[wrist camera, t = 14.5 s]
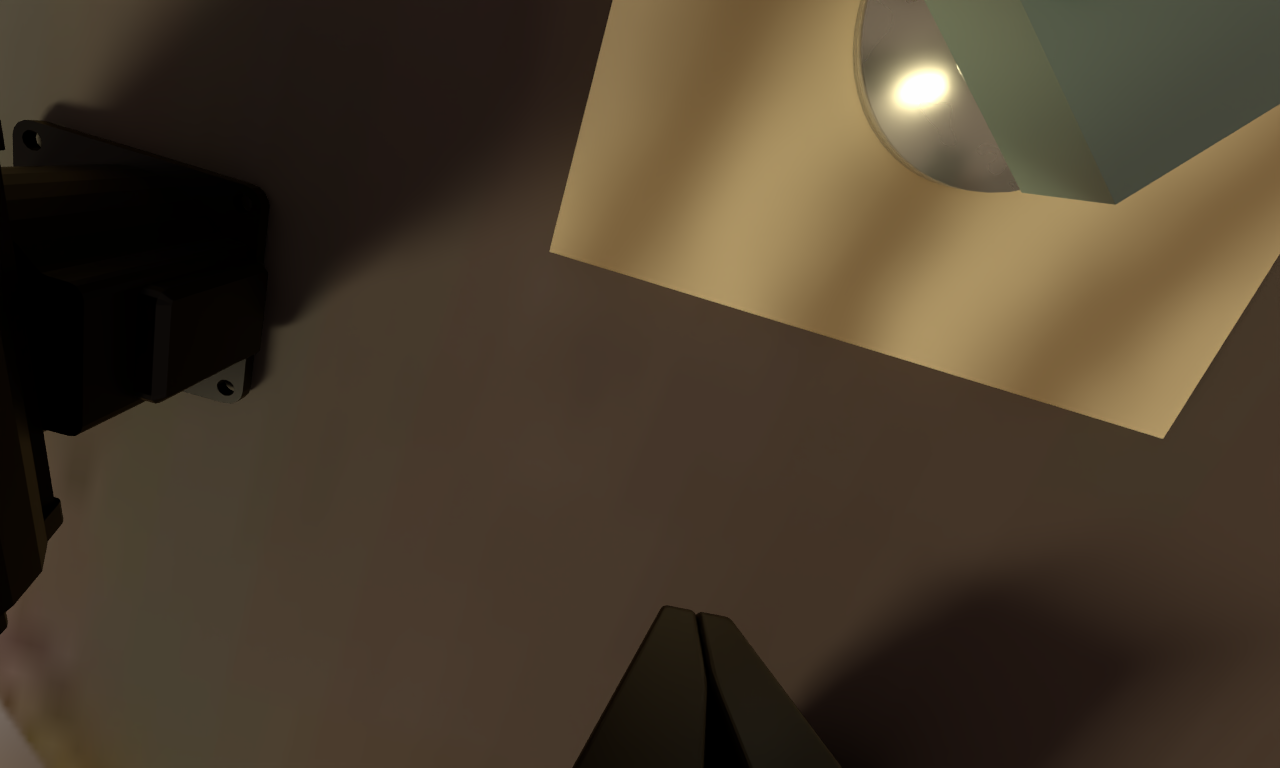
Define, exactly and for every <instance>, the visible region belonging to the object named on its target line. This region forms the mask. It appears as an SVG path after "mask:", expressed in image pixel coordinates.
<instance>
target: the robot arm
mask: <svg viewBox="0 0 1280 768" xmlns="http://www.w3.org/2000/svg"><path fill="white" fill-rule="evenodd" d="M37 133H38V135H39V136H40V137H41V140H42V147H40V146H39V145H38V143H37V141H36V134H37ZM0 150H5V145H4V139H3V132H2V126H1V120H0ZM243 195H246V196H248V197H249V199H250V200H251V203H252V208H251V210H250V211H248V210H246V209H245V208H244V206H243V205H242V197H243ZM268 215H269V200H268V198H267V196H266V194H265V193H264V191H263V190H262V189H261V188H260V187H258V186H256V185H254V184H251V183H248V182H245V181H241V180H238V179H235V178H231V177H228V176H225V175H221V174H218V173H215V172H212V171H208V170H205V169H202V168H198V167H195V166H192V165H188V164H185V163H182V162H178V161H175V160H172V159H169V158H165V157H162V156H159V155H155V154H152V153H149V152H145V151H142V150H139V149H136V148H132V147H129V146H126V145H122V144H119V143H116V142H112V141H109V140H106V139H102V138H99V137H96V136H93V135H89V134H86V133H83V132H79V131H76V130H73V129H69V128H66V127H63V126H60V125H56V124H53V123H50V122H46V121H38V120H23V121H20V122H18V123H17V124H16V126H15V127H14V130H13V167H1V166H0V634H1V633H2V632H3V631H4V630H5V629H6V628H7V624H8V620H7V615H6V611H7V610H9V609H10V608H11V607H12V606H13V605H14V604H15V603H16V602H17V601H18V599H19V598H20V597H21V596H22V595H23V593H24V592H25V591H26V590H27V589H28V587H29V586H30V585H31V584H32V583H33V581H34V580H35V579H36V578H37V577H38V575H39V574H40V573H41V572H42V569H43V564H44V559H45V554H46V548H47V542H48V540H49V539H50V538H51V537H52V535H53V534H54V533H55V532H56V530H57V529H58V528H59V527H60V526H61V524H62V523H63V515H62V508H61V502H60V500H59V498H56V497H54V496H53V490H52V484H51V477H50V471H49V465H48V459H47V452H46V446H45V440H44V434H43V432H44V431H46V430H49V431H53V432H56V433H60V434H64V435H67V436H76V435H78V434H80V433H82V432H84V431H86V430H88V429H90V428H92V427H94V426H96V425H98V424H100V423H102V422H104V421H106V420H108V419H110V418H112V417H114V416H116V415H118V414H120V413H122V412H125V411H127V410H129V409H131V408H133V407H135V406H137V405H139V404H141V403H143V402H145V401H149V402H152V403H160V402H162V401H164V400H166V399H168V398H170V397H172V396H174V395H176V394H178V393H180V392H182V391H183V392H187V393H191V394H194V395H198V396H201V397H205V398H209V399H212V400H216V401H219V402H223V403H234V402H237V401H239V400H240V399H242V398H244V397H245V396H246V395H247V394H248V393H249V391H250V387H251V377H252V368H253V358H254V354H255V353H257V352H258V351H259V350H260V344H261V335H262V326H263V316H264V307H265V298H266V289H267V279H268V272H267V270H266V268H265V266H264V264H263V263H264V253H265V244H266V234H267V225H268ZM225 380H228V381H229V382H231V383H232V385H233V386H234V391H232V390H230V389H229V388H228V387H227V386H226V383H225ZM572 768H842V767H841V765H840V764H839V763H838V761H837V760H836V759H835V757H834V756H833V755H832V753H831V752H830V751H829V749H828V748H827V747H826V745H825V744H824V743H823V741H822V740H821V739H820V737H819V736H818V735H817V733H816V732H815V731H814V729H813V728H812V727H811V725H810V724H809V723H808V721H807V720H806V719H805V717H804V716H803V715H802V713H801V712H800V711H799V709H798V708H797V707H796V705H795V704H794V703H793V701H792V700H791V699H790V697H789V696H788V695H787V693H786V692H785V691H784V689H783V688H782V687H781V685H780V684H779V683H778V681H777V680H776V679H775V677H774V676H773V675H772V673H771V672H770V671H769V669H768V668H767V667H766V665H765V664H764V663H763V661H762V660H761V659H760V657H759V656H758V655H757V653H756V652H755V651H754V649H753V648H752V647H751V645H750V644H749V643H748V641H747V640H746V639H745V637H744V636H743V635H742V633H741V632H740V631H739V629H738V628H737V627H736V625H735V624H734V623H733V621H732V620H731V619H729V618H728V617H725V616H719V615H714V614H709V613H704V612H700V613H698V614H697V615H695V613H694V612H693V611H691V610H688V609H683V608H678V607H673V606H663V607H662V608H661V609H660V611H659V613H658V614H657V616H656V618H655V620H654V622H653V623H652V625H651V627H650V629H649V631H648V632H647V634H646V636H645V638H644V640H643V641H642V643H641V645H640V647H639V649H638V650H637V652H636V654H635V656H634V658H633V659H632V661H631V663H630V665H629V667H628V668H627V670H626V672H625V674H624V676H623V677H622V679H621V681H620V683H619V685H618V686H617V688H616V690H615V692H614V694H613V695H612V697H611V699H610V701H609V703H608V704H607V706H606V708H605V710H604V712H603V713H602V715H601V717H600V719H599V721H598V722H597V724H596V726H595V728H594V730H593V731H592V733H591V735H590V737H589V739H588V740H587V742H586V744H585V746H584V748H583V749H582V751H581V753H580V755H579V757H578V758H577V760H576V762H575V764H574V766H573V767H572Z"/></svg>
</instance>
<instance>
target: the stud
mask: <svg viewBox="0 0 1280 768" xmlns="http://www.w3.org/2000/svg"><path fill="white" fill-rule="evenodd" d="M853 71H854V78H855V84H856V89H857V94H858V97H859V100H860V103H861V107H862V110H863V112H864V115H865V117H866V119H867V121H868V123H869V125H870V127H871V129H872V131H873V132H874V134H875V135H876V137H877V138H878V140H879V141H880V143H881V144H882V145H883V146H884V147H885V149H886V150H887V151H888V152H889V153H890V154H891V155H892V156H893V157H894V158H895V159H896V160H897V161H898V162H900V163H901V164H902V165H903V166H904V167H906V168H907V169H908V170H910V171H912V172H913V173H915V174H917V175H919V176H920V177H922V178H924V179H926V180H929V181H931V182H934V183H936V184H939V185H943V186H947V187H951V188H955V189H961V190H968V191H976V192H986V193H997V192H1012V191H1018V190H1020V188H1019V186H1018V185H1017V183H1016V181H1015V179H1014V177H1013V175H1012V173H1011V171H1010V169H1009V167H1008V165H1007V163H1006V161H1005V159H1004V157H1003V155H1002V153H1001V151H1000V149H999V147H998V145H997V143H996V141H995V139H994V137H993V135H992V133H991V131H990V129H989V127H988V125H987V123H986V121H985V119H984V117H983V115H982V113H981V111H980V109H979V107H978V105H977V103H976V101H975V100H974V98H973V96H972V94H971V92H970V90H969V88H968V86H967V84H966V82H965V80H964V78H963V76H962V74H961V72H960V70H959V68H958V66H957V64H956V62H955V60H954V58H953V56H952V54H951V52H950V50H949V48H948V46H947V44H946V42H945V40H944V38H943V36H942V34H941V32H940V30H939V28H938V26H937V24H936V22H935V20H934V18H933V16H932V14H931V13H930V11H929V9H928V7H927V5H926V3H925V1H924V0H861V1H860V4H859V7H858V11H857V17H856V22H855V28H854V38H853Z"/></svg>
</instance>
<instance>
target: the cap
mask: <svg viewBox="0 0 1280 768" xmlns="http://www.w3.org/2000/svg"><path fill="white" fill-rule="evenodd" d="M924 1H925V3H926V5H927V7H928V9H929V11H930V13H931V14H932V16H933V18H934V20H935V22H936V24H937V26H938V28H939V30H940V32H941V34H942V36H943V38H944V40H945V42H946V44H947V46H948V48H949V50H950V52H951V54H952V56H953V58H954V60H955V62H956V64H957V66H958V68H959V70H960V72H961V74H962V76H963V78H964V80H965V82H966V84H967V86H968V88H969V90H970V92H971V94H972V96H973V98H974V100H975V101H976V103H977V105H978V107H979V109H980V111H981V113H982V115H983V117H984V119H985V121H986V123H987V125H988V127H989V129H990V131H991V133H992V135H993V137H994V139H995V141H996V143H997V145H998V147H999V149H1000V151H1001V153H1002V155H1003V157H1004V159H1005V161H1006V163H1007V165H1008V167H1009V169H1010V171H1011V173H1012V175H1013V177H1014V179H1015V181H1016V183H1017V185H1018V186H1019V188H1020V190H1021V192H1022V193H1028V194H1035V195H1043V196H1051V197H1059V198H1066V199H1074V200H1082V201H1090V202H1098V203H1105V204H1113V205H1116V204H1118V203H1119V202H1121V201H1123V200H1124V199H1126V198H1128V197H1129V196H1131V195H1132V194H1134V193H1136V192H1137V191H1139V190H1141V189H1142V188H1144V187H1146V186H1147V185H1149V184H1150V183H1152V182H1154V181H1155V180H1157V179H1159V178H1160V177H1162V176H1163V175H1165V174H1167V173H1168V172H1170V171H1172V170H1173V169H1175V168H1177V167H1178V166H1180V165H1181V164H1183V163H1185V162H1186V161H1188V160H1190V159H1191V158H1193V157H1194V156H1196V155H1198V154H1199V153H1201V152H1203V151H1204V150H1206V149H1208V148H1209V147H1211V146H1212V145H1214V144H1216V143H1217V142H1219V141H1221V140H1222V139H1224V138H1225V137H1227V136H1229V135H1230V134H1232V133H1234V132H1235V131H1237V130H1239V129H1240V128H1242V127H1243V126H1245V125H1247V124H1248V123H1250V122H1252V121H1253V120H1255V119H1256V118H1258V117H1260V116H1261V115H1263V114H1265V113H1266V112H1268V111H1270V110H1271V109H1273V108H1274V107H1276V106H1278V105H1279V104H1280V0H924Z"/></svg>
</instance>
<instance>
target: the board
mask: <svg viewBox="0 0 1280 768" xmlns="http://www.w3.org/2000/svg"><path fill="white" fill-rule="evenodd" d="M860 1H861V0H613V1H612V5H611V9H610V13H609V17H608V21H607V25H606V29H605V33H604V37H603V41H602V45H601V49H600V53H599V57H598V61H597V65H596V69H595V73H594V77H593V81H592V85H591V89H590V93H589V97H588V101H587V104H586V108H585V112H584V116H583V120H582V124H581V128H580V132H579V136H578V140H577V144H576V148H575V152H574V156H573V160H572V164H571V168H570V172H569V176H568V180H567V184H566V188H565V192H564V196H563V200H562V204H561V208H560V212H559V216H558V220H557V224H556V228H555V232H554V235H553V239H552V243H551V247H550V251H549V252H553V253H556V254H559V255H562V256H566V257H569V258H572V259H575V260H579V261H582V262H585V263H589V264H592V265H595V266H598V267H602V268H605V269H608V270H612V271H615V272H618V273H621V274H625V275H628V276H631V277H634V278H638V279H641V280H644V281H648V282H651V283H654V284H657V285H661V286H664V287H667V288H671V289H674V290H677V291H680V292H684V293H687V294H690V295H693V296H697V297H700V298H703V299H707V300H710V301H713V302H716V303H720V304H723V305H726V306H730V307H733V308H736V309H739V310H743V311H746V312H749V313H752V314H756V315H759V316H762V317H766V318H769V319H772V320H775V321H779V322H782V323H785V324H788V325H792V326H795V327H798V328H802V329H805V330H808V331H811V332H815V333H818V334H821V335H825V336H828V337H831V338H834V339H838V340H841V341H844V342H847V343H851V344H854V345H857V346H861V347H864V348H867V349H870V350H874V351H877V352H880V353H884V354H887V355H890V356H893V357H897V358H900V359H903V360H906V361H910V362H913V363H916V364H920V365H923V366H926V367H929V368H933V369H936V370H939V371H943V372H946V373H949V374H952V375H956V376H959V377H962V378H965V379H969V380H972V381H975V382H979V383H982V384H985V385H988V386H992V387H995V388H998V389H1002V390H1005V391H1008V392H1011V393H1015V394H1018V395H1021V396H1024V397H1028V398H1031V399H1034V400H1038V401H1041V402H1044V403H1047V404H1051V405H1054V406H1057V407H1061V408H1064V409H1067V410H1070V411H1074V412H1077V413H1080V414H1083V415H1087V416H1090V417H1093V418H1097V419H1100V420H1103V421H1106V422H1110V423H1113V424H1116V425H1120V426H1123V427H1126V428H1129V429H1133V430H1136V431H1139V432H1142V433H1146V434H1149V435H1152V436H1156V437H1159V438H1162V439H1163V438H1164V436H1165V435H1166V433H1167V432H1168V430H1169V429H1170V427H1171V425H1172V424H1173V422H1174V421H1175V419H1176V417H1177V416H1178V414H1179V413H1180V411H1181V409H1182V408H1183V406H1184V405H1185V403H1186V402H1187V400H1188V398H1189V397H1190V395H1191V394H1192V392H1193V390H1194V389H1195V387H1196V386H1197V384H1198V383H1199V381H1200V379H1201V378H1202V376H1203V375H1204V373H1205V371H1206V370H1207V368H1208V367H1209V365H1210V363H1211V362H1212V360H1213V359H1214V357H1215V356H1216V354H1217V352H1218V351H1219V349H1220V348H1221V346H1222V344H1223V343H1224V341H1225V340H1226V338H1227V336H1228V335H1229V333H1230V332H1231V330H1232V329H1233V327H1234V325H1235V324H1236V322H1237V321H1238V319H1239V317H1240V316H1241V314H1242V313H1243V311H1244V309H1245V308H1246V306H1247V305H1248V303H1249V302H1250V300H1251V298H1252V297H1253V295H1254V294H1255V292H1256V290H1257V289H1258V287H1259V286H1260V284H1261V283H1262V281H1263V279H1264V278H1265V276H1266V275H1267V273H1268V271H1269V270H1270V268H1271V267H1272V265H1273V263H1274V262H1275V260H1276V259H1277V257H1278V256H1279V254H1280V104H1279V105H1278V106H1276V107H1274V108H1273V109H1271V110H1270V111H1268V112H1266V113H1265V114H1263V115H1261V116H1260V117H1258V118H1256V119H1255V120H1253V121H1252V122H1250V123H1248V124H1247V125H1245V126H1243V127H1242V128H1240V129H1239V130H1237V131H1235V132H1234V133H1232V134H1230V135H1229V136H1227V137H1225V138H1224V139H1222V140H1221V141H1219V142H1217V143H1216V144H1214V145H1212V146H1211V147H1209V148H1208V149H1206V150H1204V151H1203V152H1201V153H1199V154H1198V155H1196V156H1194V157H1193V158H1191V159H1190V160H1188V161H1186V162H1185V163H1183V164H1181V165H1180V166H1178V167H1177V168H1175V169H1173V170H1172V171H1170V172H1168V173H1167V174H1165V175H1163V176H1162V177H1160V178H1159V179H1157V180H1155V181H1154V182H1152V183H1150V184H1149V185H1147V186H1146V187H1144V188H1142V189H1141V190H1139V191H1137V192H1136V193H1134V194H1132V195H1131V196H1129V197H1128V198H1126V199H1124V200H1123V201H1121V202H1119V203H1118V204H1116V205H1113V204H1105V203H1098V202H1090V201H1082V200H1074V199H1066V198H1059V197H1051V196H1043V195H1035V194H1028V193H1022V192H1021V190H1018V191H1012V192H997V193H986V192H976V191H968V190H961V189H955V188H951V187H947V186H943V185H939V184H936V183H934V182H931V181H929V180H926V179H924V178H922V177H920V176H919V175H917V174H915V173H913V172H912V171H910V170H908V169H907V168H906V167H904V166H903V165H902V164H901V163H900V162H898V161H897V160H896V159H895V158H894V157H893V156H892V155H891V154H890V153H889V152H888V151H887V150H886V149H885V147H884V146H883V145H882V144H881V143H880V141H879V140H878V138H877V137H876V135H875V134H874V132H873V131H872V129H871V127H870V125H869V123H868V121H867V119H866V117H865V115H864V112H863V110H862V107H861V103H860V100H859V97H858V94H857V89H856V84H855V78H854V71H853V38H854V28H855V22H856V17H857V11H858V7H859V4H860Z"/></svg>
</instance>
